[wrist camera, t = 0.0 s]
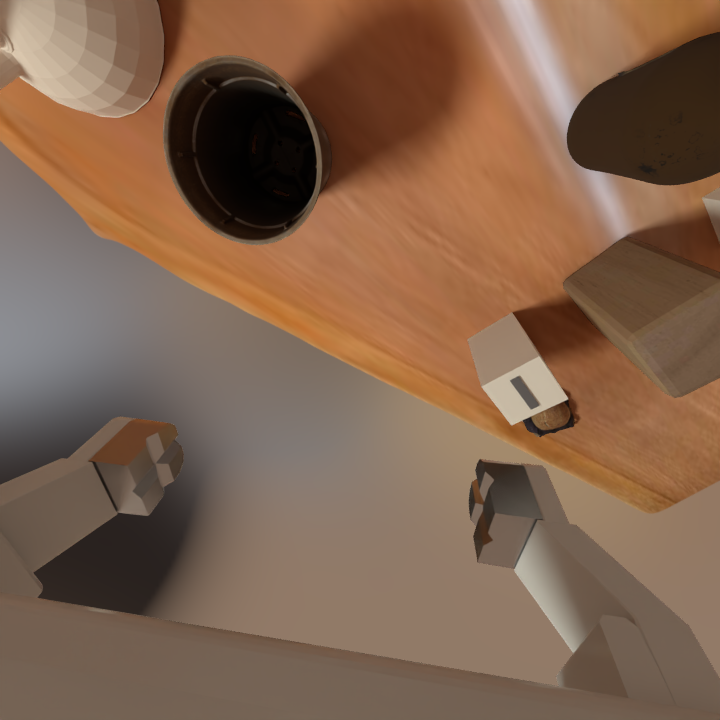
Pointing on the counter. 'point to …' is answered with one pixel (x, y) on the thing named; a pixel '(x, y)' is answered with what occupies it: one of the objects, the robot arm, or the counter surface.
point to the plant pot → (244, 150)
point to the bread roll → (550, 420)
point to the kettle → (84, 51)
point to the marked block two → (713, 209)
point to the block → (654, 312)
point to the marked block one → (513, 371)
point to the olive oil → (655, 118)
